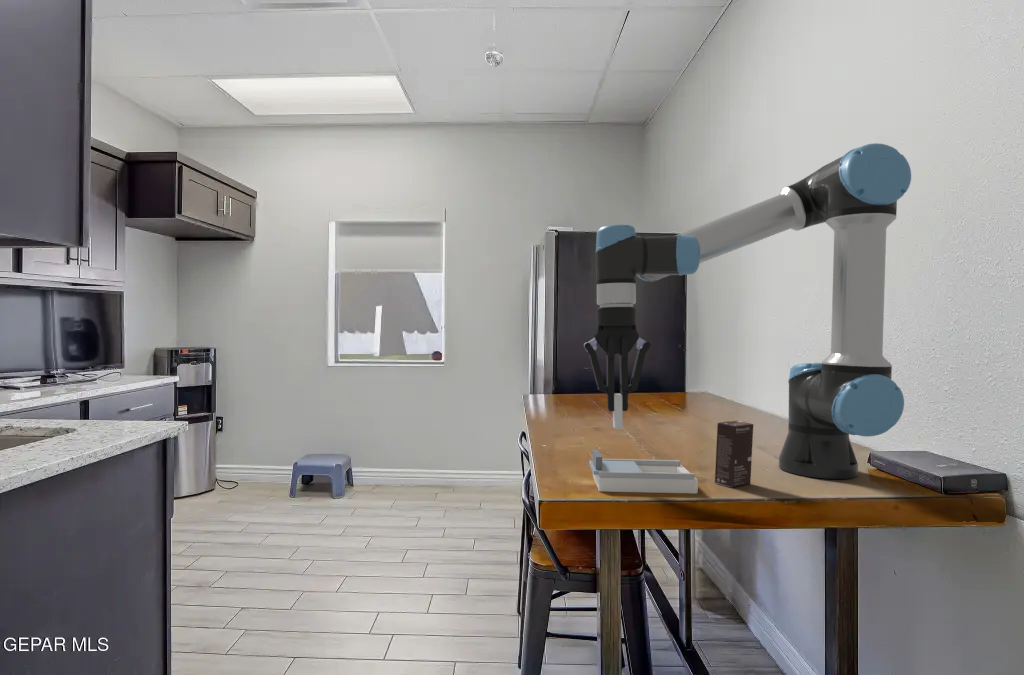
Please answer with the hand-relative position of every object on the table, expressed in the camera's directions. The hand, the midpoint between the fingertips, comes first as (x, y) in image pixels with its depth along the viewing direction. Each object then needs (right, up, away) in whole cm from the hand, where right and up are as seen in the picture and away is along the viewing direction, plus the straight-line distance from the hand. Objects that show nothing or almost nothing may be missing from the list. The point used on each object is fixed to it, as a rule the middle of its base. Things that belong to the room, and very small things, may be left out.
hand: (617, 427), depth 114 cm
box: (+23, -11, +1) cm, 25 cm away
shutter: (-1, -8, 0) cm, 8 cm away
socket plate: (+5, -11, 0) cm, 12 cm away
